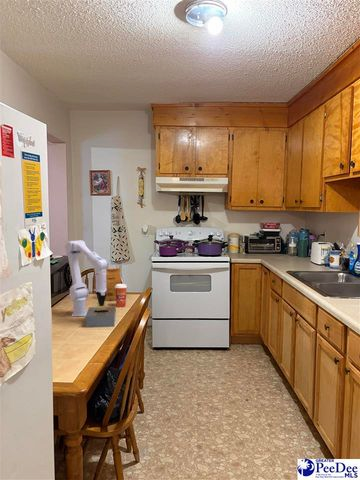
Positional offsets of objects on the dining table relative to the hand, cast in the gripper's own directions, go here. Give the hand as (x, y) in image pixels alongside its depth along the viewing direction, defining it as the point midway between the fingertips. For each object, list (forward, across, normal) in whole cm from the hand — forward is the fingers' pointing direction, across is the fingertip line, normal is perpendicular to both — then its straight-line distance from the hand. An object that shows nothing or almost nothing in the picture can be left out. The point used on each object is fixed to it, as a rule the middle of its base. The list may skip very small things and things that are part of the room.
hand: (101, 305), depth 195 cm
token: (+3, 0, 0) cm, 3 cm away
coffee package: (+10, -47, +14) cm, 50 cm away
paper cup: (+10, -28, +17) cm, 34 cm away
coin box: (+9, 0, 0) cm, 9 cm away
